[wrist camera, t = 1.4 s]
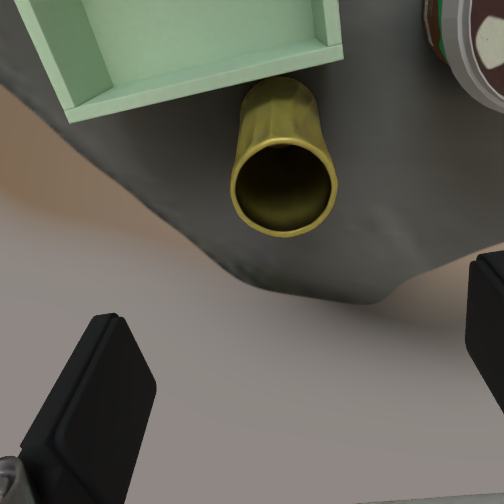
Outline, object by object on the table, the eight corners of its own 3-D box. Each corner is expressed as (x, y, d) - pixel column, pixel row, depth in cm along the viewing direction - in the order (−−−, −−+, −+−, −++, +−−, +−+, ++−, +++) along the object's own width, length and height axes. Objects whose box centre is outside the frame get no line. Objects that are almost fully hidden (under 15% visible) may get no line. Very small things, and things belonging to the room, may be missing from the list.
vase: (307, 162, 33) (328, 254, 21) (234, 148, 33) (212, 234, 21) (327, 84, 30) (365, 140, 18) (246, 68, 30) (229, 115, 18)
